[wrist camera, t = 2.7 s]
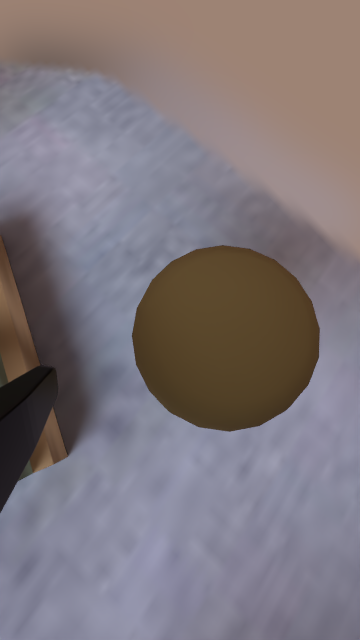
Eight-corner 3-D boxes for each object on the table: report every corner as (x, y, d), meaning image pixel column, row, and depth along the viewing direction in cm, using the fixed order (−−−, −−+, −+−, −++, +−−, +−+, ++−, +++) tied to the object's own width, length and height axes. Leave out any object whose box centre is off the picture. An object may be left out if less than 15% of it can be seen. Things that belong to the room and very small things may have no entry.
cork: (208, 296, 19) (249, 169, 8) (273, 377, 18) (415, 346, 7) (126, 356, 18) (56, 297, 8) (189, 445, 17) (213, 523, 6)
